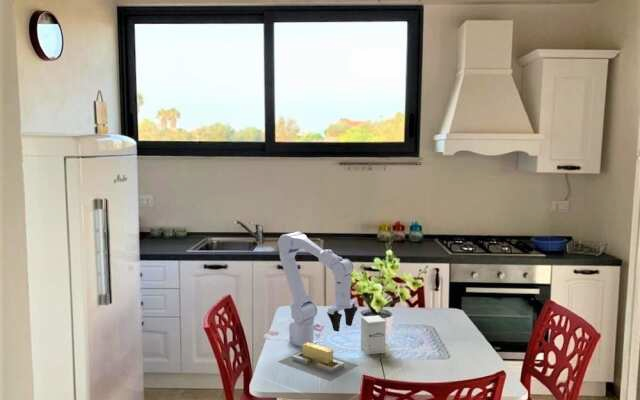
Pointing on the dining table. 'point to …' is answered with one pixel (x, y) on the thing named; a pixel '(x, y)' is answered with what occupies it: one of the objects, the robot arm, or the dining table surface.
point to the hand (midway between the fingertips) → (342, 328)
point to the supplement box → (373, 334)
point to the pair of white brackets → (336, 364)
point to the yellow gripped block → (318, 354)
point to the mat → (312, 369)
